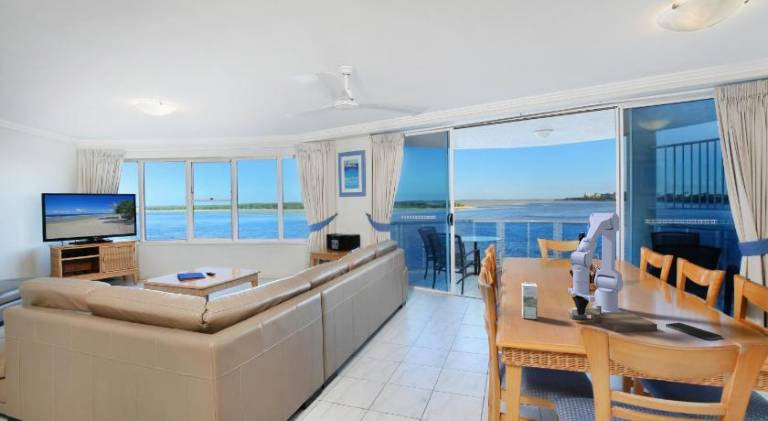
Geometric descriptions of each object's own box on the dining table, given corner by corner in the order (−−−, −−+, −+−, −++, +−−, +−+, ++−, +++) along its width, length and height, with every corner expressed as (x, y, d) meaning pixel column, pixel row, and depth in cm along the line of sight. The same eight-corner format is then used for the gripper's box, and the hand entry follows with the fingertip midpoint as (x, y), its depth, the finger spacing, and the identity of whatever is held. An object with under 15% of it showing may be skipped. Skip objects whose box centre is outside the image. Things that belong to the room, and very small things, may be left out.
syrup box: (535, 315, 154) (535, 282, 154) (537, 320, 149) (537, 285, 148) (521, 314, 156) (521, 281, 156) (523, 319, 150) (522, 284, 150)
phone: (707, 338, 125) (664, 324, 139) (707, 342, 125) (664, 327, 139) (724, 336, 127) (679, 322, 141) (724, 339, 127) (679, 325, 141)
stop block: (569, 317, 151) (569, 309, 151) (583, 317, 151) (583, 309, 151) (572, 319, 149) (572, 311, 149) (586, 318, 149) (586, 310, 149)
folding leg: (598, 312, 149) (598, 305, 149) (603, 314, 146) (603, 307, 146) (568, 313, 148) (568, 306, 148) (571, 315, 145) (571, 308, 145)
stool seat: (591, 318, 149) (591, 312, 149) (628, 317, 150) (628, 311, 150) (615, 332, 134) (615, 325, 134) (657, 330, 135) (657, 324, 135)
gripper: (561, 277, 151) (561, 309, 152) (582, 285, 137) (582, 321, 137) (577, 277, 152) (577, 308, 152) (600, 285, 137) (600, 320, 138)
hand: (581, 314), depth 145 cm, fingers closed
